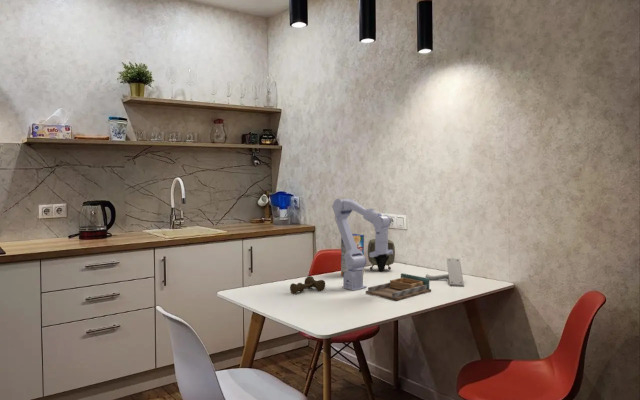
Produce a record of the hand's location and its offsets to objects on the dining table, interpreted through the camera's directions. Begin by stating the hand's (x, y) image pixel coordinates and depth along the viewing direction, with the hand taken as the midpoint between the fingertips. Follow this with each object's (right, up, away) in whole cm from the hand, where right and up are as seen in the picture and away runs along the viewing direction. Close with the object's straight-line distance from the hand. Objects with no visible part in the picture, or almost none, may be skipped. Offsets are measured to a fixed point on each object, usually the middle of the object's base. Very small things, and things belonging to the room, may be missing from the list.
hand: (381, 271), depth 220 cm
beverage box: (-10, -9, +41) cm, 43 cm away
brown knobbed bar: (-33, -10, +6) cm, 35 cm away
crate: (+13, -9, +7) cm, 17 cm away
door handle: (+36, -10, +25) cm, 45 cm away
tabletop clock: (+7, -8, +55) cm, 56 cm away
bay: (+9, -10, +3) cm, 14 cm away
